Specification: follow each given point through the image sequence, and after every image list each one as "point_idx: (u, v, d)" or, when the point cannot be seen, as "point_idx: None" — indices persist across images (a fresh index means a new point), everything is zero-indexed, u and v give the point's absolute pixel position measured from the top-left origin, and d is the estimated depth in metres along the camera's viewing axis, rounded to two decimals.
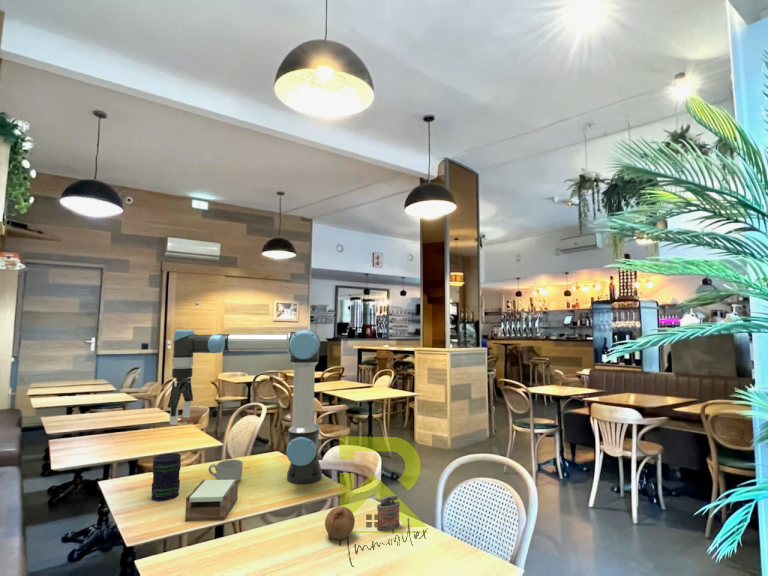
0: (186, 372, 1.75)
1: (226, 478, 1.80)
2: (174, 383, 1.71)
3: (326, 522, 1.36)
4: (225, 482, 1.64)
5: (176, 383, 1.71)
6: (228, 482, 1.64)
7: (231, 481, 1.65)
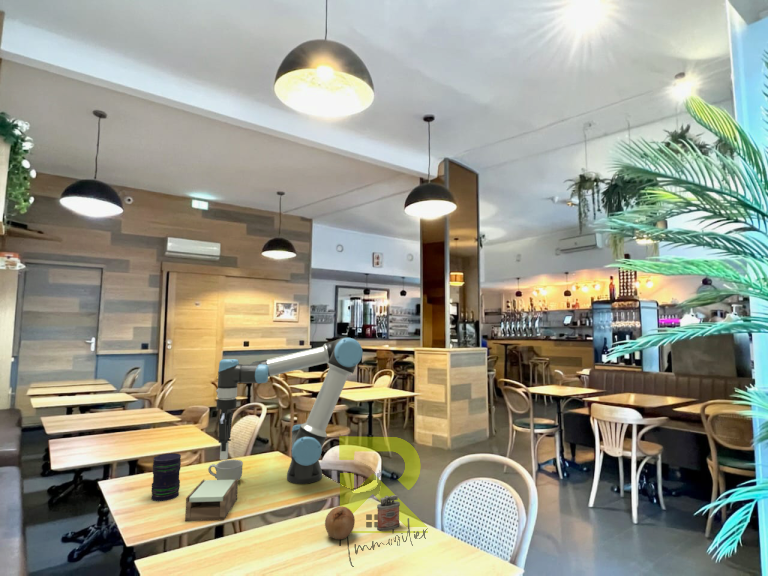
0: (231, 404, 1.72)
1: (226, 478, 1.80)
2: (220, 421, 1.68)
3: (326, 522, 1.36)
4: (225, 482, 1.64)
5: (222, 421, 1.68)
6: (228, 482, 1.64)
7: (231, 481, 1.65)
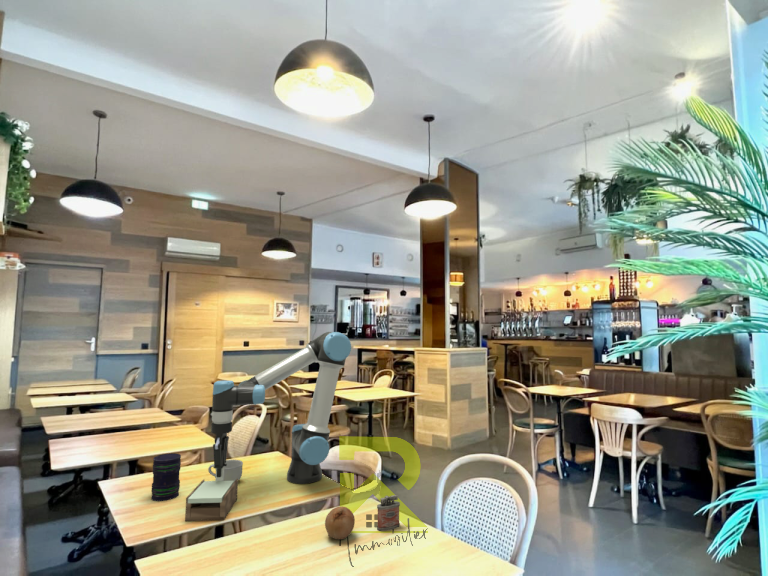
0: (226, 428, 1.66)
1: (226, 478, 1.80)
2: (215, 447, 1.61)
3: (326, 522, 1.36)
4: (224, 483, 1.63)
5: (217, 447, 1.62)
6: (227, 483, 1.63)
7: (230, 482, 1.64)
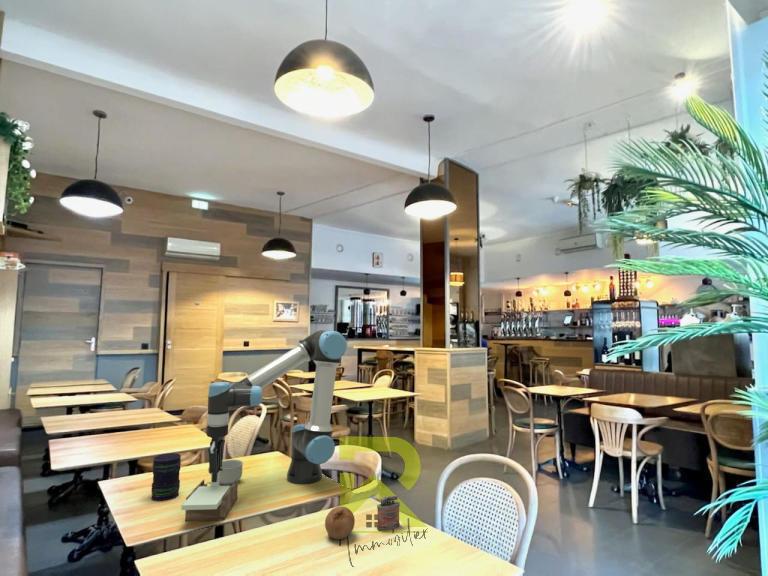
0: (222, 431, 1.60)
1: (226, 478, 1.80)
2: (210, 451, 1.56)
3: (326, 522, 1.36)
4: (219, 489, 1.57)
5: (212, 451, 1.56)
6: (223, 489, 1.57)
7: (226, 487, 1.58)
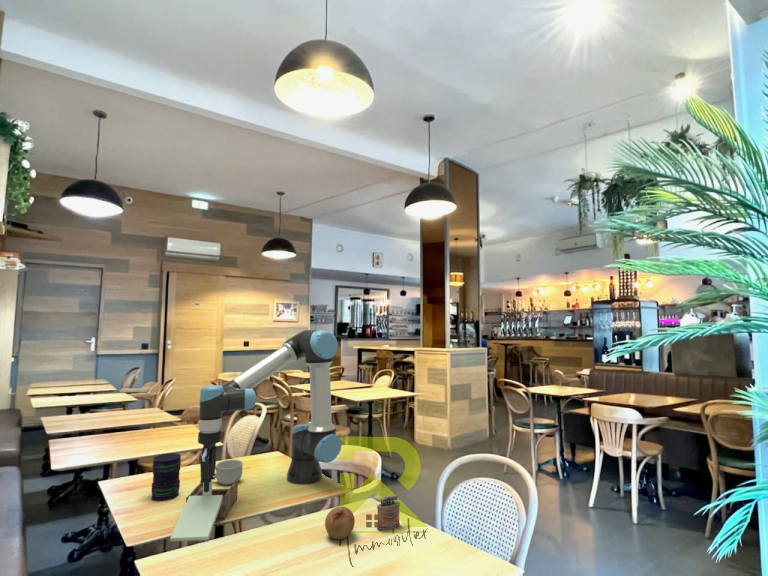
0: (214, 437, 1.51)
1: (226, 478, 1.80)
2: (202, 459, 1.47)
3: (326, 522, 1.36)
4: (211, 502, 1.47)
5: (204, 459, 1.47)
6: (214, 502, 1.47)
7: (218, 499, 1.49)
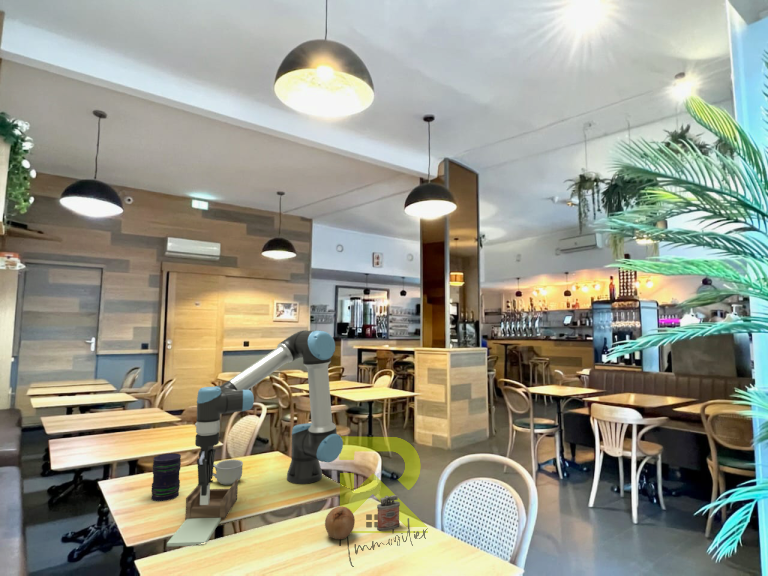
0: (212, 440, 1.48)
1: (226, 478, 1.80)
2: (199, 462, 1.44)
3: (326, 522, 1.36)
4: (209, 521, 1.46)
5: (201, 462, 1.44)
6: (212, 521, 1.46)
7: (216, 520, 1.47)
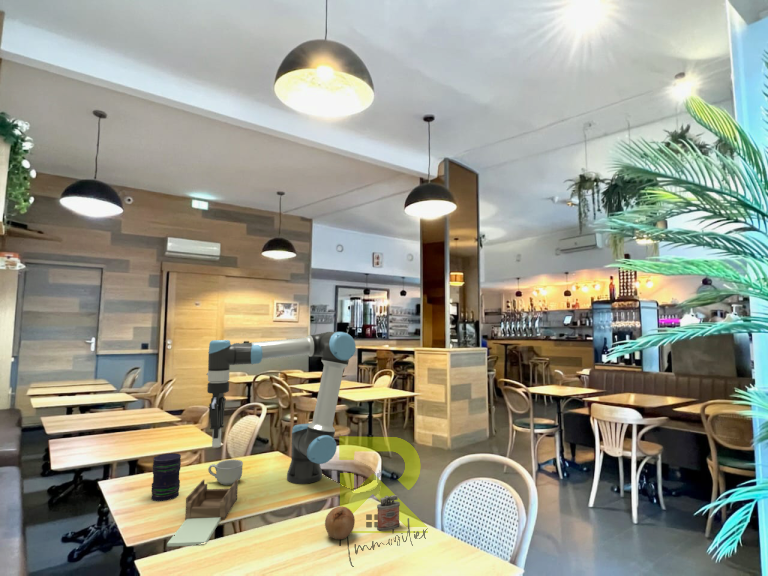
0: (223, 387, 1.60)
1: (226, 478, 1.80)
2: (211, 406, 1.56)
3: (326, 522, 1.36)
4: (209, 521, 1.46)
5: (214, 406, 1.56)
6: (212, 521, 1.46)
7: (216, 520, 1.47)
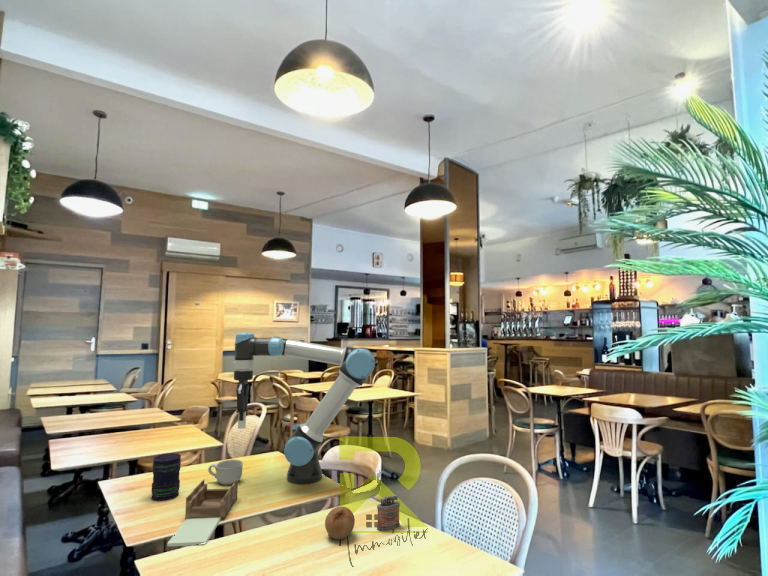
0: (248, 375, 1.79)
1: (226, 478, 1.80)
2: (238, 391, 1.74)
3: (326, 522, 1.36)
4: (209, 521, 1.46)
5: (240, 391, 1.74)
6: (212, 521, 1.46)
7: (216, 520, 1.47)
